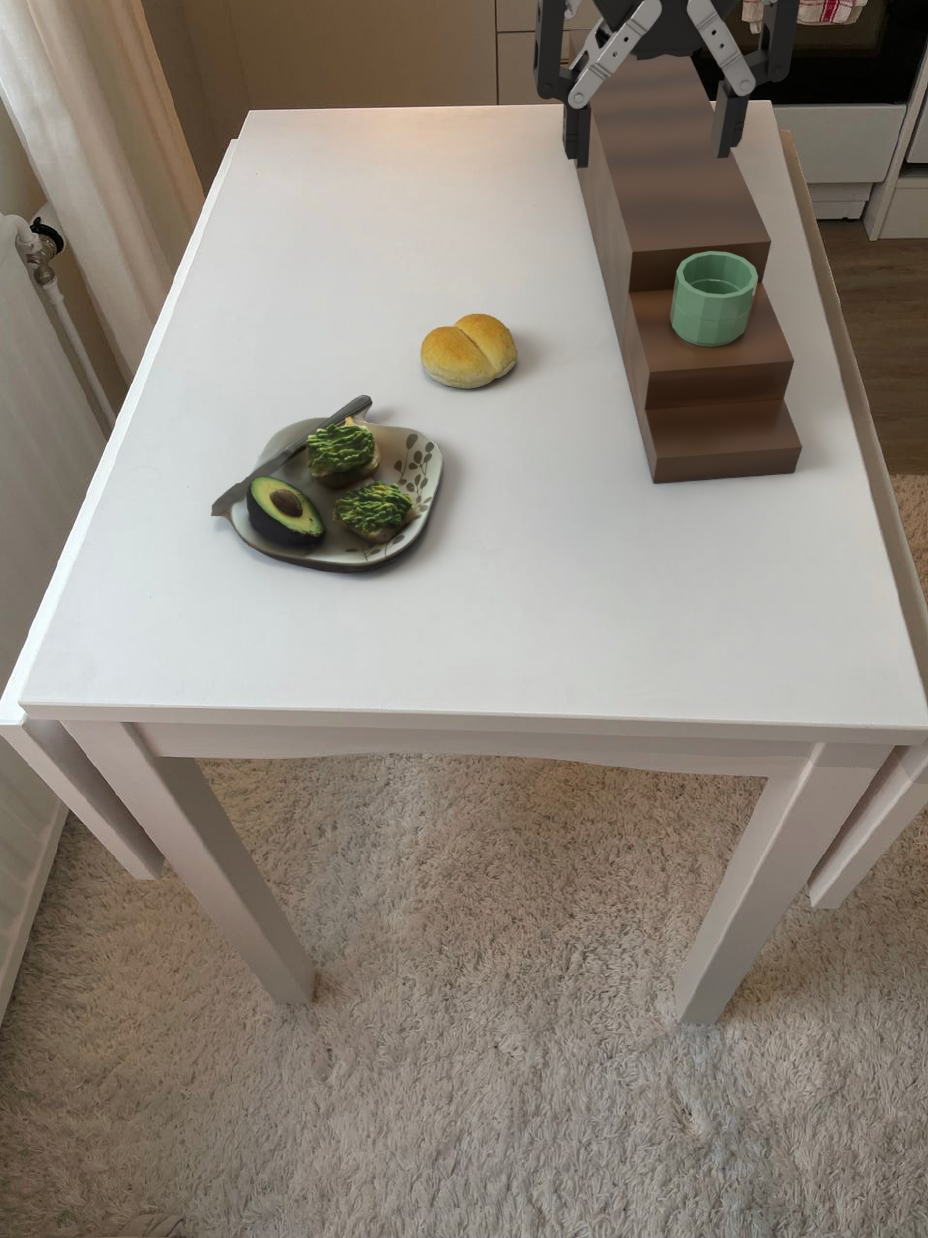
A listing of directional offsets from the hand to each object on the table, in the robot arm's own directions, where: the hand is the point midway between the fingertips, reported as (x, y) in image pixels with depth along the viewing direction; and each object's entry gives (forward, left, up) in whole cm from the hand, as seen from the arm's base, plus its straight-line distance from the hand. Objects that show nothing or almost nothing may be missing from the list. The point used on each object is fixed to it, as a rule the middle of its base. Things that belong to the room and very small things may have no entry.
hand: (649, 156), depth 58 cm
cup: (-3, -14, -21) cm, 25 cm away
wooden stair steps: (+6, -31, -28) cm, 42 cm away
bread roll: (+18, -10, -28) cm, 35 cm away
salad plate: (+21, +11, -28) cm, 37 cm away
